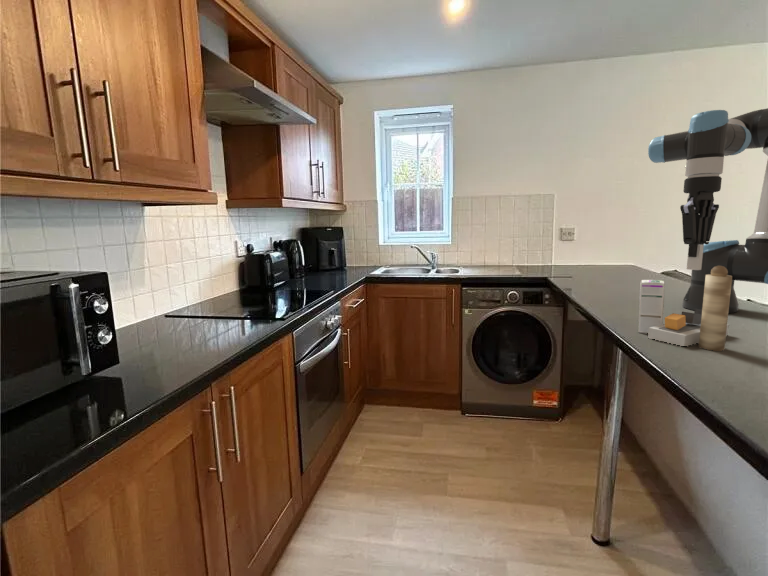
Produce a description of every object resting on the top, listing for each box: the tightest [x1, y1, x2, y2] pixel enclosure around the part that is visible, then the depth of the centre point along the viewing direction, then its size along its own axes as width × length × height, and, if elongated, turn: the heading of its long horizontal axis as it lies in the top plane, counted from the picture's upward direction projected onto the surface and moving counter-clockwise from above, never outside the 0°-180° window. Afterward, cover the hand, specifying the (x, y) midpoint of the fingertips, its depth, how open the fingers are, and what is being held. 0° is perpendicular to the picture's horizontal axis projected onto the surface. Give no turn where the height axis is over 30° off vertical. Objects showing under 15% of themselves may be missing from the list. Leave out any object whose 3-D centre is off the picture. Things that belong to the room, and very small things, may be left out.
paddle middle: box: [680, 311, 702, 325], centre depth 111 cm, size 4×3×3 cm
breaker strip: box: [647, 321, 730, 347], centre depth 111 cm, size 20×9×3 cm, turn 116°
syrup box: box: [637, 279, 666, 334], centre depth 117 cm, size 6×6×14 cm
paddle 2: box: [693, 309, 702, 317], centre depth 113 cm, size 4×3×3 cm
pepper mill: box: [698, 266, 732, 352], centre depth 101 cm, size 5×5×20 cm
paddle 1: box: [664, 313, 686, 330], centre depth 108 cm, size 4×3×3 cm
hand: (693, 269), depth 108 cm, fingers closed
